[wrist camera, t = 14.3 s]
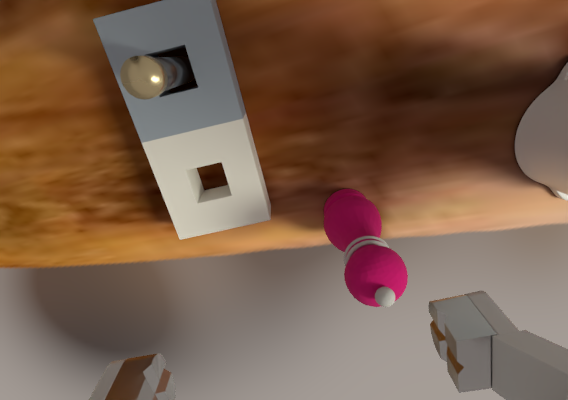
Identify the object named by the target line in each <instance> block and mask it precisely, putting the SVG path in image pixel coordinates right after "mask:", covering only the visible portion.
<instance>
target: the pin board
mask: <svg viewBox="0 0 568 400" xmlns="http://www.w3.org/2000/svg"><path fill="white" fill-rule="evenodd" d="M93 21H94V24H95V26H96V29H97V31H98V34H99V36H100V39H101V41H102V44H103V46H104V49H105V52H106V54H107V57H108V59H109V62H110V64H111V67H112V69H113V72H114V74H115V77H116V79H117V82H118V84H119V87H120V89H121V92H122V95H123V97H124V100H125V102H126V105H127V107H128V110H129V112H130V115H131V117H132V120H133V122H134V125H135V127H136V130H137V133H138V135H139V138H140V140H141V143H142V145H143V148H144V150H145V153H146V155H147V158H148V160H149V163H150V165H151V168H152V170H153V173H154V176H155V178H156V181H157V183H158V186H159V188H160V191H161V193H162V196H163V198H164V201H165V203H166V206H167V208H168V211H169V213H170V216H171V219H172V221H173V224H174V226H175V229H176V231H177V234H178V236H179V239H180V240H181V239H186V238H190V237H195V236H199V235H204V234H209V233H213V232H218V231H222V230H227V229H231V228H236V227H241V226H245V225H250V224H254V223H259V222H263V221H268V220H271V204H270V200H269V196H268V193H267V189H266V185H265V181H264V178H263V174H262V170H261V167H260V163H259V159H258V155H257V152H256V148H255V144H254V141H253V137H252V133H251V129H250V126H249V122H248V118H247V115H246V111H245V107H244V103H243V100H242V96H241V92H240V88H239V85H238V81H237V77H236V74H235V70H234V66H233V62H232V59H231V55H230V51H229V48H228V44H227V40H226V36H225V33H224V29H223V25H222V21H221V18H220V14H219V10H218V7H217V3H216V0H162V1H159V2H155V3H151V4H147V5H144V6H140V7H136V8H132V9H129V10H125V11H121V12H117V13H114V14H110V15H106V16H102V17H99V18H95V19H93ZM185 47H186V50H187V53H188V56H189V60H190V63H191V66H192V69H193V72H194V76H195V79H196V82H197V85H198V86H196V87H192V88H188V89H184V90H180V91H176V92H172V93H171V92H170V89H169V90H166V91H164V92H163V93H162V94H160V95H159V96H156V97H154V98H151V99H145V100H144V99H138V98H136V97H134V96H132V95H131V94H129V93H128V92H127V91H126V89H125V88H124V86H123V84H122V82H121V78H120V71H121V67H122V65H123V63H124V62H125V61H126V60H127V59H128V58H130V57H133V56H151V57H153V58H158V54H161V53H165V52H169V51H173V50H177V49H181V48H185ZM220 162H222V165H223V169H224V172H225V175H226V178H227V181H228V185H225V186H221V187H217V188H212V189H208V190H204V188H203V185H202V182H201V179H200V176H199V173H198V171H197V168H198V167H202V166H207V165H211V164H215V163H220Z"/></svg>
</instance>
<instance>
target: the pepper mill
mask: <svg viewBox="0 0 568 400" xmlns="http://www.w3.org/2000/svg"><path fill="white" fill-rule="evenodd" d="M324 216H325V217H324V230H325V232H326V235H327V237H328V238H329V240H330V241H331V243H332V244H333V245H334V246H336V247H337V248H338V249H339V250H341V251H343V252H345V253H344V263H345V266H346V268H345V273H344V275H345V281H346V285H347V287H348V289H349V291H350V293H351V294H352V295H353V296H354V298H356V299H357V300H358V301H360V302H361V303H363V304H365V305H369V306H374V307H379V306H383V307H389V306H391V305H392V304H393V303H394V302H395V301H396V300H397V299H398V298H399V297H400V296H401V295H402V294H403V292H404V290H405V288H406V285H407V277H408V275H407V270H406V266H405V264H404V262H403V260H402V259H401V257H400V256H399V255H398V254H397V253H396V252H394V251H393V250H391V249H390V248H389V246H388V245H387V244H386V242H385V241H383V240H382V239H381V238H379V237H380V234H381V217H380V214H379V212H378V210H377V208H376V207H375V205H374V204H373V203H372V202H370V201H369V200H367V199H366V198H365V196H364V195H363V194H362V193H360V192H359V191H356V190H353V189H342V190H339V191H337V192H335V193H333V194H332V195H331V196H330V197H329V198H328V199H327V201H326V203H325V206H324Z"/></svg>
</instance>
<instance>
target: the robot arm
mask: <svg viewBox="0 0 568 400" xmlns="http://www.w3.org/2000/svg"><path fill="white" fill-rule="evenodd" d="M515 155H516V159H517V162H518V164H519V166H520V168H521V169H522V171H523V172H524V173H525V174H526V175H527V176H528V177H529V178H531V179H532V180H534V181H536V182H539V183H541V184H544V185H546V186H548V187H549V188H550V189H551V190H552V192H553V193H554V194H555V195H556V196H557V197H558V198H561V199H564V200H568V62H567V64H566V65H565V66H564V68H563V69H562V71H561V72H560V74H559V76H558V77H557V79H556V80H555V81H554V83H553V84H552V85H550V86H549V87H548V88H547V89H546V90H545V91H544V92H542V93H541V94H540V95H539V96H538V97H537V98H536V99H535V100H534V101H533V103H532V104H531V105H530V106H529V108H528V109H527V111H526V112H525V114H524V116H523V117H522V119H521V122H520V124H519V127H518V129H517V133H516V138H515ZM429 313H430V315H431V317H432V318H433V321H432V322H431V324H430V327H431V334H432V338H433V342H434V344H435V347H436V350H437V352H438V354H439V356H440V358H441V359H443V360H445V361H446V362H447V367H448V373H449V375H450V376H451V378H452V380H453V382H454V384H455V386H456V388H457V389H458V391H459V392H467V391H474V390H481V389H489V388H492V390H493V391H495V392H496V393H498V394H499V395H500V396H502V397H503V398H504V399H506V400H568V349H566V348H564V347H562V346H559V345H557V344H555V343H553V342H550V341H548V340H546V339H544V338H542V337H539V336H537V335H535V334H533V333H530V332H528V331H526V330H523V331H519V330H518V329H517V328H516V327H515V325H514V324H513V323H512V322H511V321H510V320H509V318H508V317H507V316H506V315H505V314H504V313H503V312H502V310H501V309H500V308H499V307H498V306H497V305H496V304H495V302H494V301H493V300H492V299H491V298H490V297H489V295H488V294H487V293H486V292H484V291H478V292H473V293H468V294H464V295H459V296H455V297H450V298H445V299H440V300H435V301H430V302H429ZM165 363H166V361H165V360H164V358H163V356H162V354H153V355H147V356H141V357H135V358H129V359H126V360H119V361H113V362H111V363H110V364H109V365H108V366H107V368H106V370H105V371H104V373H103V375H102V377H101V379H100V380H99V382H98V384H97V386H96V388H95V390H94V392H93V394H92V395H91V397H90V399H89V400H175V389H176V386H175V382H174V378H173V376H172V374H171V372H169V371H167V370H165V369H164V366H165Z"/></svg>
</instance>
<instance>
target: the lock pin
mask: <svg viewBox="0 0 568 400" xmlns="http://www.w3.org/2000/svg"><path fill="white" fill-rule="evenodd" d="M194 77H195V76H194V72H193V69H192V66H191V63H190V60H189V58H187V57H183V56H180V57H158V58H153V57H151V56H133V57H130V58H128V59H127V60H126V61H125V62H124V63H123V65H122V67H121V71H120V78H121V82H122V84H123V86H124V88H125V89H126V91H127V92H128V93H129V94H131V95H132V96H134V97H136V98H138V99H144V100H145V99H151V98H154V97H156V96H159V95H160V94H162V93H163V92H164V91H166V90H169V89H172V88H175V87H178V86H180V85H183V84H186V83H189V82H191V81H192V80H193V79H194Z"/></svg>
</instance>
